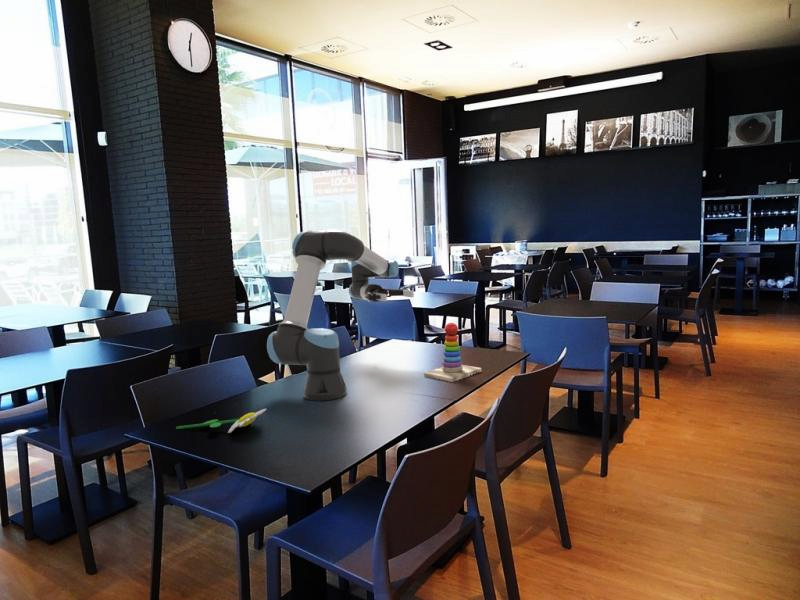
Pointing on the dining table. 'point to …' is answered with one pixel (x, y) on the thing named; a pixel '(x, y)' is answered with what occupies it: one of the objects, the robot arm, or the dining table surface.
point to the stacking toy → (451, 350)
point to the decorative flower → (229, 421)
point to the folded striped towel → (452, 373)
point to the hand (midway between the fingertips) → (399, 295)
